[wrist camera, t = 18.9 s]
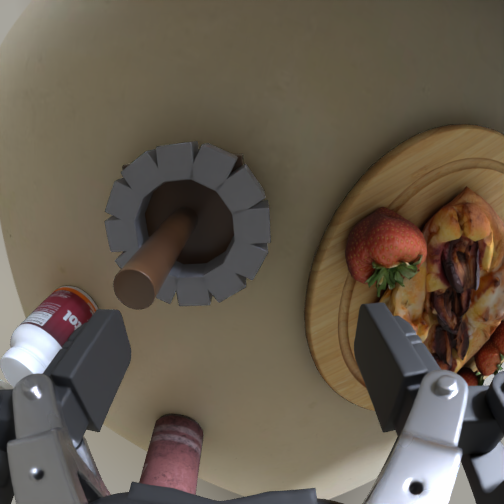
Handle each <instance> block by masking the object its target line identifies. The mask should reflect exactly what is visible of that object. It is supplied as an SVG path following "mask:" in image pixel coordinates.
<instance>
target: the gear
mask: <svg viewBox="0 0 504 504" xmlns="http://www.w3.org/2000/svg"><path fill="white" fill-rule="evenodd" d="M237 159H238V157H237V156H235V155H233V154H231V153H229V152H227V151H225V150H222V149H220V148H218V147H216V146H214V145H211V144H209V143H206V144H202V146H201V148H200V150H199V149H198V142H197V141H195V142H186V143H177V144H169V145H163V146H157V147H156V149H154V150H150V151H146V152H144V153H143V154H142V155H141V156H139V157H138V158H137V159H136V160H135V161H133V162H132V163H131V164H130V165H129V166H127V167H126V168H125V169H124V170H123V171H122V172H121V174H122V176H123V178H121V179H119V180H116V181H115V182H114V185H113V188H112V191H111V194H110V197H109V200H108V203H107V206H106V209H105V212H107V213H109V214H111V215H113V216H111V217H110V218H108V219H107V220H106V221H105V227H106V232H107V237H108V242H109V247H110V251H111V252H120V251H123V252H122V253H121V254H120V255H119V256H118V258H117V259H116V260H115V262H116V263H117V264H118V266H119V267H120V268H121V269H122V268H123V267H124V265H125V264H126V263H127V262H128V261H129V260H130V259H131V257H132V256H133V255H134V254H135V253H136V252H137V251H138V250H139V248H140V247H141V246H142V245H143V244H144V243H145V242H146V241H147V240H148V238H149V236H148V231H147V224H146V218H145V212H146V209H147V206H148V204H149V201H150V199H151V196H152V194H153V191H155V190H156V189H157V188H159V187H160V186H161V185H163V184H164V183H165V182H170V181H180V180H190V179H191V180H193V181H195V182H197V183H200V184H202V185H204V186H206V187H208V188H210V189H213V190H215V191H216V192H217V193H218V194H219V196H220V197H221V199H222V200H223V202H224V203H225V204H226V206H227V207H228V209H229V210H230V211H231V213H232V216H233V228H234V236H233V238H232V240H231V242H230V244H229V246H228V248H227V250H226V251H225V252H224V253H222V254H220V255H219V256H217V257H216V258H214V259H212V260H211V261H209V262H208V263H203V264H182V263H180V262H177V261H176V262H175V263H174V265H173V267H172V269H171V271H170V272H169V274H168V276H167V278H166V280H165V281H164V283H163V285H162V287H161V289H160V291H159V292H158V294H157V296H156V298H158V299H160V300H162V301H164V302H166V303H168V304H170V303H171V301H172V299H173V297H174V295H175V292H176V293H177V298H178V303H179V306H201V305H210V303H211V299H212V295H213V296H214V297H215V299H216V300H217V301H218V302H219V303H220V302H221V301H223V300H225V299H227V298H228V297H230V296H232V295H233V294H235V293H237V292H239V291H240V290H242V289H244V288H245V287H246V278H248V279H250V280H253V279H254V277H255V275H256V274H257V272H258V270H259V268H260V266H261V265H262V263H263V261H264V259H265V257H266V256H267V254H268V246H267V243H270V242H271V236H270V215H269V205H268V200H263V199H265V192H264V189H263V188H262V186H261V185H260V183H259V182H258V181H257V179H256V178H255V176H254V175H253V173H252V172H251V170H250V169H249V167H248V166H247V164H244V165H243V166H241V167H239V168H238V169H236V170H235V171H233V172H232V173H231V171H232V169H233V167H234V165H235V163H236V161H237Z"/></svg>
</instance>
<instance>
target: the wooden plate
mask: <svg viewBox="0 0 504 504" xmlns="http://www.w3.org/2000/svg"><path fill="white" fill-rule="evenodd" d="M380 302H383V303H385V305H386V306H387V307H388V309H389V310H390V312H391V313H392V315H393V316H400V317H401V318H403V319H404V320H406V321H407V322H409V323H410V324H411V326H412V327H413V329H414V330H415V331H416V334H417V335H418V336H419V337H420V339H421V340H422V343H424V344H425V346H426V347H427V349H428V350H429V352H430V353H431V355H432V356H433V358H434V359H435V361H436V362H437V364H438V365H439V367H440V368H441V370H449V371H452V372H454V373H457V374H458V375H460V376H461V377H462V378H463V379H464V380H465V381H466V383H467V385H468V386H482V385H483V383H484V379H486V378H487V377H488V376H489V375H491V374H494V375H496V374H497V373H498V370H499V369H500V370H502V369H503V368H502V367H501V365H502V363H503V362H504V134H502V133H500V132H498V131H496V130H493V129H490V128H486V127H482V126H478V125H470V124H457V125H447V126H442V127H437V128H434V129H431V130H428V131H425V132H422V133H420V134H417V135H415V136H413V137H411V138H409V139H408V140H406V141H404V142H402V143H401V144H399V145H398V146H397V147H395V148H394V149H392V150H391V151H390V152H388V153H387V154H386V155H384V156H383V157H382V158H380V159H379V160H378V161H377V162H376V163H375V164H374V165H373V166H371V168H370V169H369V170H368V171H367V172H366V173H365V174H364V175H363V176H362V177H361V178H360V179H359V180H358V182H357V183H356V184H355V186H354V187H353V188H352V189H351V191H350V192H349V193H348V195H347V196H346V197H345V199H344V200H343V202H342V203H341V205H340V206H339V207H338V209H337V210H336V212H335V214H334V216H333V218H332V220H331V222H330V224H329V225H328V227H327V229H326V231H325V233H324V235H323V238H322V240H321V242H320V245H319V247H318V249H317V251H316V254H315V257H314V260H313V263H312V267H311V271H310V275H309V280H308V285H307V292H306V300H305V310H304V316H305V330H306V338H307V342H308V346H309V349H310V353H311V356H312V358H313V361H314V363H315V365H316V368H317V370H318V371H319V373H320V375H321V376H322V378H323V379H324V380H325V382H326V383H327V384H328V385H329V386H330V387H331V388H332V389H333V390H334V391H335V392H336V393H337V394H339V395H340V396H341V397H343V398H344V399H346V400H347V401H349V402H351V403H353V404H355V405H358V406H360V407H362V408H365V409H369V410H372V411H375V409H374V407H373V404H372V401H371V399H370V396H369V393H368V391H367V388H366V385H365V383H364V380H363V378H362V375H361V372H360V370H359V367H358V365H357V362H356V359H355V355H354V340H355V334H356V328H357V321H358V315H359V309H360V306H361V305H362V304H369V303H380Z"/></svg>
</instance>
